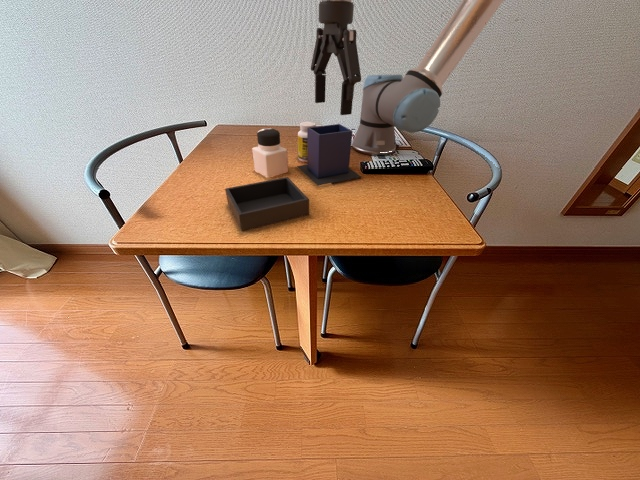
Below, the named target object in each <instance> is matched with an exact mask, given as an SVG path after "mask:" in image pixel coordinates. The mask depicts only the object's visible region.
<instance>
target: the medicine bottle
mask: <svg viewBox="0 0 640 480" xmlns="http://www.w3.org/2000/svg"><path fill="white" fill-rule="evenodd" d="M256 137H257V146H254V147H252V148H251V151H252V158H253V166H254V172H255V173H257V174H260V175H262V176H263V177H264V178H266V179H270V178H273V177H277V176H279V175H282V174H286V173H289V161H288V159H289V157H288V149H287V148H285V147H283V146H281V132H280V131H279V130H277V129H275V128H271V127H270V128H262V129H260V130H258V131H257V132H256Z"/></svg>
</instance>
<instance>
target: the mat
mask: <svg viewBox="0 0 640 480" xmlns="http://www.w3.org/2000/svg"><path fill="white" fill-rule="evenodd" d="M296 167H297V168H298V170H300V171H301V172H302V173H303V174H304V175H305V176H307V178H309V179H310V180H311V182H313V183H314V184H315V185H317V186H323V185H328V184H331V185H336V184H341V183H345V182H350V181H354V180H360V179H362V175H360V174H359V173H357V172H356V171H354V169H352V168H350V167H349V173H346V174H341V175H335V176H330V177H325V178H320V179H318V178H316V177H315V176H314V175H313V174H312V173H311V172H310V171H309V170H307V164H302V165H296Z"/></svg>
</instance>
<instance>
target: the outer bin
mask: <svg viewBox="0 0 640 480" xmlns="http://www.w3.org/2000/svg"><path fill="white" fill-rule="evenodd" d="M224 190H225V191H224V192H225V196H226V202H227V205H228V207H229V209H230V210H231V213H232V215H233V217H234V219H235V221H236V223H237V225H238V228H239V230H240V232H246V231H250V230H254V229H259V228H262V227H266V226H270V225H275V224H279V223H282V222H287V221H290V220H294V219H298V218H302V217H303V218H304V217H306V216H309V215H310V199H309V197H308V196H307V195H306V194H305V193H304V192H303V191H302V190H301V189H300V188H299V187H298V186H297V185H296V184H295V183H294V181H292V180H291V178H289V176H285V177H280V178H273V179H269V180H263V181H258V182H253V183H247V184H241V185H237V186H232V187H226V188H224Z"/></svg>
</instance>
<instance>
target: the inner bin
mask: <svg viewBox="0 0 640 480" xmlns="http://www.w3.org/2000/svg"><path fill="white" fill-rule="evenodd" d="M352 142H353V130H352V129H350V128H348V127H346V126H344V125H342V124H341V123H334V124H326V125H316V127H309V128H307V162H306V165H307V170H309V171H310V172H311V173H312V174H313V175H314V176H315V177H316V178H318V179H320V178H325V177H330V176H335V175H341V174H346V173H349V168H350V163H351V161H350V160H351V150H352Z"/></svg>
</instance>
